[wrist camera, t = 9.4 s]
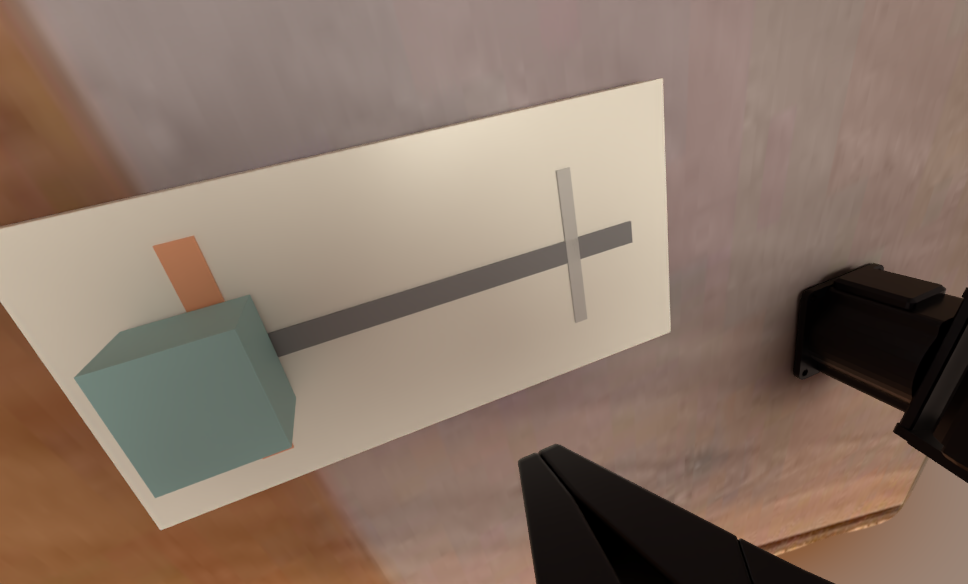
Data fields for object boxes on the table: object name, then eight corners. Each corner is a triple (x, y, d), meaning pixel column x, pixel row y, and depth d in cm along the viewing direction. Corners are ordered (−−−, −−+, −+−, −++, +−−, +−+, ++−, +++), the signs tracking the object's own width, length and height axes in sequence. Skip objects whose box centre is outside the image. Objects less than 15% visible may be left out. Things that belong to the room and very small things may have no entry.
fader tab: (295, 397, 17) (291, 447, 14) (182, 437, 16) (155, 498, 13) (249, 294, 15) (235, 328, 13) (119, 331, 14) (73, 377, 12)
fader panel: (651, 320, 24) (671, 332, 23) (172, 501, 19) (159, 532, 17) (639, 81, 19) (664, 78, 18) (-9, 228, 14) (-47, 239, 12)
